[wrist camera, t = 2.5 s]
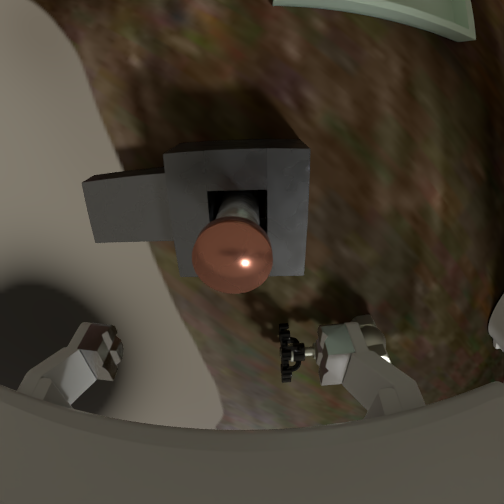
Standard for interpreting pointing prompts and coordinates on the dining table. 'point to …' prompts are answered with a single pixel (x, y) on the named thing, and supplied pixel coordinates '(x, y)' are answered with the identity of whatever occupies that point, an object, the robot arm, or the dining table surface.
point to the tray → (407, 13)
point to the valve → (298, 351)
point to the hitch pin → (234, 246)
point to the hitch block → (207, 197)
